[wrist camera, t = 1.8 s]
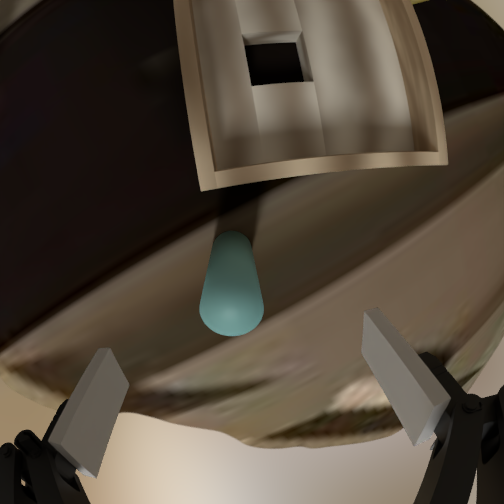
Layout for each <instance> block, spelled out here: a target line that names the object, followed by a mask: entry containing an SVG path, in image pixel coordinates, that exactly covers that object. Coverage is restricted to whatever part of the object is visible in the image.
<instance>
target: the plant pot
mask: <svg viewBox="0 0 504 504" xmlns="http://www.w3.org/2000/svg"><path fill="white" fill-rule="evenodd" d="M410 1H411V3H412V4H416V3H419V2H423V1H427V0H410Z"/></svg>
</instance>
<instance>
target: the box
mask: <svg viewBox="0 0 504 504" xmlns="http://www.w3.org/2000/svg"><path fill="white" fill-rule="evenodd" d="M173 1H174V12H175V21H176V30H177V39H178V47H179V55H180V63H181V71H182V78H183V85H184V92H185V99H186V106H187V112H188V119H189V125H190V131H191V137H192V143H193V149H194V155H195V161H196V166H197V172H198V178H199V183H200V188H201V191H206V190H211V189H217V188H222V187H228V186H234V185H239V184H245V183H252V182H258V181H265V180H271V179H278V178H286V177H293V176H301V175H309V174H318V173H327V172H336V171H346V170H357V169H370V168H384V167H400V166H423V165H448V156H447V145H446V136H445V128H444V120H443V114H442V108H441V102H440V97H439V92H438V87H437V82H436V78H435V74H434V70H433V66H432V62H431V58H430V55H429V51H428V48H427V45H426V41H425V38H424V35H423V32H422V29H421V27H420V24H419V21H418V18H417V16H416V13H415V11H414V8H413V6H412V3H411V1H410V0H173ZM283 42H296V46H297V50H298V55H299V59H300V64H301V69H302V73H303V78H304V82H293V83H279V84H268V85H258V86H251V81H250V76H249V70H248V65H247V59H246V54H245V48H244V46H245V45H254V44H266V43H283Z"/></svg>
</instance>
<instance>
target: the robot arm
mask: <svg viewBox="0 0 504 504" xmlns="http://www.w3.org/2000/svg"><path fill="white" fill-rule="evenodd" d="M361 353H362V355H363V357H364V358H365V360H366V362H367V363H368V365H369V367H370V368H371V370H372V372H373V374H374V375H375V377H376V379H377V380H378V382H379V384H380V386H381V387H382V389H383V391H384V393H385V394H386V396H387V398H388V400H389V402H390V403H391V405H392V407H393V409H394V411H395V412H396V414H397V416H398V418H399V420H400V421H401V423H402V425H403V427H404V429H405V431H406V432H407V434H408V436H409V438H410V440H411V442H412V444H413V446H416V445H418V444H420V443H423V442H425V441H427V440H428V439H430V437H431V436H432V434H433V432H434V433H435V434H436V436H437V439H436V440H435V442H434V443H433V445H432V447H431V448H430V450H432V449H433V451H432V455H431V458H430V461H429V464H428V467H427V470H426V473H425V476H424V479H423V481H422V484H421V487H420V489H419V492H418V494H417V496H416V499H415V501H414V503H413V504H467V503H468V500H469V496H470V493H471V489H472V486H473V482H474V478H475V474H476V469H477V501H476V504H504V385H503V386H502V387H501V388H500V390H499V392H498V394H496V395H493V396H489V397H485V398H480V397H479V396H478V395H475V394H467V393H466V392H465V391H464V390H463V389H462V388H461V386H460V385H459V384H458V383H457V381H456V380H455V379H454V378H453V377H452V375H451V374H450V373H449V372H447V369H446V368H445V367H444V366H442V363H441V362H440V361H439V360H438V359H437V358H436V357H435V356H433V355H432V354H430V353H428V352H425V353H422V354H420V355H417V353H416V352H415V351H414V350H413V349H412V347H411V346H410V345H409V344H408V342H407V341H406V340H405V339H404V338H403V336H402V335H401V334H400V333H399V332H398V330H397V329H396V328H395V327H394V326H393V325H392V323H391V322H390V321H389V320H388V319H387V318H386V316H385V315H384V314H383V313H382V312H381V311H380V309H379V308H374V309H370V310H366V311H364V325H363V339H362V351H361ZM128 387H129V383H128V381H127V379H126V378H125V376H124V374H123V372H122V370H121V368H120V367H119V365H118V363H117V361H116V359H115V357H114V355H113V353H112V351H111V349H110V348H99V349H98V350H97V352H96V354H95V355H94V357H93V359H92V360H91V362H90V364H89V365H88V367H87V369H86V370H85V372H84V374H83V376H82V377H81V379H80V381H79V383H78V384H77V386H76V388H75V390H74V391H73V393H72V395H71V397H70V399H66V400H65V401H64V402H63V403H62V404H61V405H60V406H59V408H58V410H57V412H56V415H55V416H54V418H53V421H51V423H50V425H49V427H48V429H47V431H46V433H45V435H44V437H43V439H42V441H41V440H40V439H39V438H38V437H37V436H36V435H35V434H34V433H33V432H32V431H31V430H23V431H21V432H20V433H19V434H18V435H17V436H16V438H15V440H14V445H15V446H16V447H17V448H18V449H17V448H16V447H15V446H14V445H13V444H12V443H5V444H3V445H2V446H1V447H0V504H90V502H89V500H88V498H87V496H86V493H85V491H84V489H83V487H82V485H81V482H80V480H79V477H78V476H77V475H76V474H75V471H76V469H77V470H78V471H80V472H81V473H82V474H83V475H86V476H89V477H94V478H97V475H98V472H99V469H100V466H101V463H102V459H103V456H104V453H105V450H106V447H107V444H108V442H109V439H110V436H111V433H112V430H113V427H114V424H115V422H116V419H117V416H118V413H119V411H120V408H121V405H122V403H123V400H124V397H125V395H126V392H127V390H128ZM21 479H22V480H23V481H25V486H23V485H22V484H21Z"/></svg>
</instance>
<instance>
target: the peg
mask: <svg viewBox="0 0 504 504" xmlns="http://www.w3.org/2000/svg"><path fill="white" fill-rule="evenodd" d="M263 312H264V305H263V300H262V296H261V291H260V286H259V281H258V276H257V272H256V267H255V262H254V257H253V252H252V247H251V244H250V241H249V239H248V238H247V237H246V236H245V235H244V234H242V233H240V232H237V231H227V232H224V233H222V234H220V235H219V236H218V237H217V238H216V239H215V241H214V243H213V246H212V251H211V255H210V260H209V264H208V269H207V273H206V278H205V283H204V287H203V292H202V297H201V302H200V315H201V318H202V320H203V321H204V323H205V324H206V325H207V326H208V327H209V328H210V329H211V330H213V331H214V332H216V333H218V334H221V335H226V336H238V335H242V334H245V333H248V332H249V331H251V330H253V329H254V328H255V327H256V326H257V325H258V324H259V322H260V321H261V319H262V316H263Z"/></svg>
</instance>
